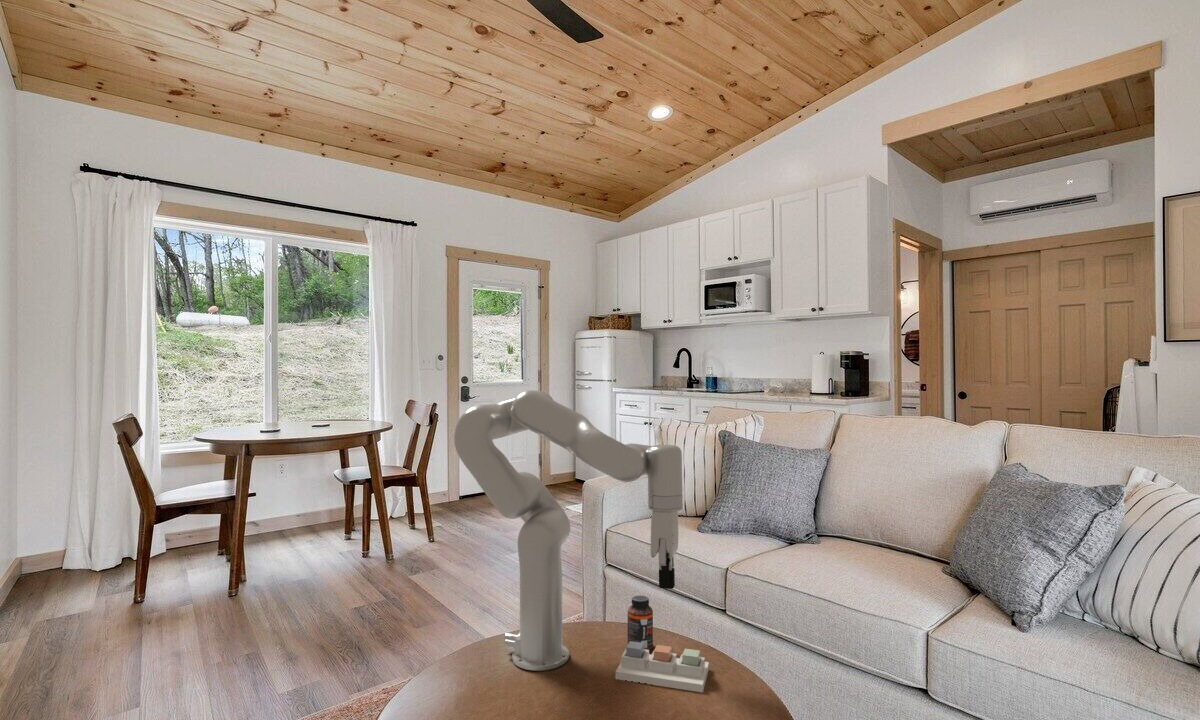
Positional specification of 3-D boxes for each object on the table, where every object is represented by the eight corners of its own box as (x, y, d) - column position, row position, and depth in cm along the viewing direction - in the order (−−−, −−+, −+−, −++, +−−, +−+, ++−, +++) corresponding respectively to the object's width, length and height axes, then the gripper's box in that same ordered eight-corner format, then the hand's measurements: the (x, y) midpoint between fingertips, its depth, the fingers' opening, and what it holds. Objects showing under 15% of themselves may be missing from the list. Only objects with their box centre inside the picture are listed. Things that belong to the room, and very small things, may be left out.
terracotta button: (653, 662, 121) (653, 651, 121) (656, 656, 124) (656, 644, 124) (668, 665, 120) (668, 653, 120) (671, 658, 123) (671, 646, 123)
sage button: (682, 667, 119) (682, 655, 119) (684, 660, 122) (684, 648, 122) (698, 669, 118) (697, 657, 118) (700, 662, 121) (699, 650, 121)
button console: (615, 679, 119) (615, 661, 120) (627, 657, 129) (627, 641, 129) (702, 692, 114) (702, 674, 114) (708, 669, 124) (708, 652, 124)
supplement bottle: (651, 654, 131) (651, 603, 131) (625, 652, 132) (625, 601, 132) (654, 643, 136) (654, 594, 137) (629, 641, 138) (629, 592, 138)
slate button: (626, 658, 122) (626, 647, 122) (629, 652, 125) (629, 641, 125) (640, 661, 121) (640, 649, 122) (644, 654, 124) (644, 643, 125)
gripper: (654, 495, 134) (655, 575, 133) (642, 507, 120) (643, 597, 119) (686, 496, 133) (688, 578, 131) (677, 509, 118) (679, 600, 117)
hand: (666, 587), depth 125 cm, fingers closed
